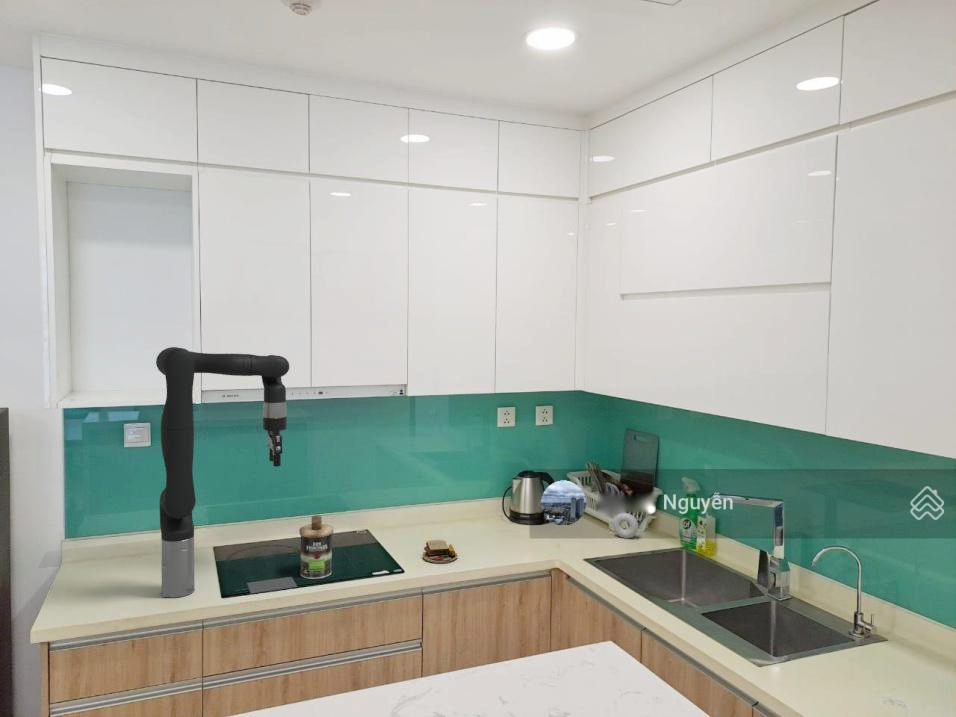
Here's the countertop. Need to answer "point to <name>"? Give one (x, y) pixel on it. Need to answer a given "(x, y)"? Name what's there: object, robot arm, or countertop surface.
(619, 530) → the donut
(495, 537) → the countertop surface
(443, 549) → the toy sandwich meal
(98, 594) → the countertop surface
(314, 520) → the lid
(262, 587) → the mat
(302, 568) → the coffee can
